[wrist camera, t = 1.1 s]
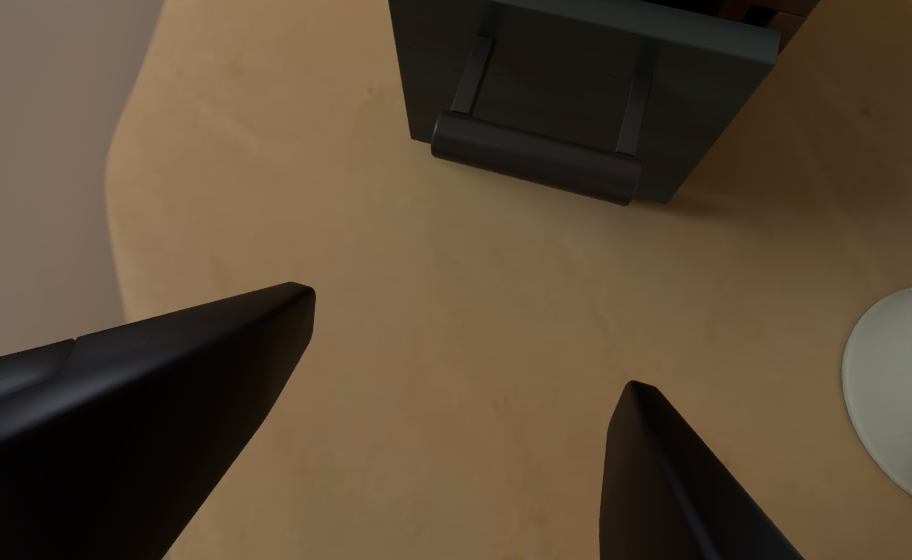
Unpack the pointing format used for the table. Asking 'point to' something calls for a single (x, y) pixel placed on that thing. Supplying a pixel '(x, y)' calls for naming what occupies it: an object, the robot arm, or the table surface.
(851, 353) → the can
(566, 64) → the drawer
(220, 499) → the table surface
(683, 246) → the table surface
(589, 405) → the table surface
